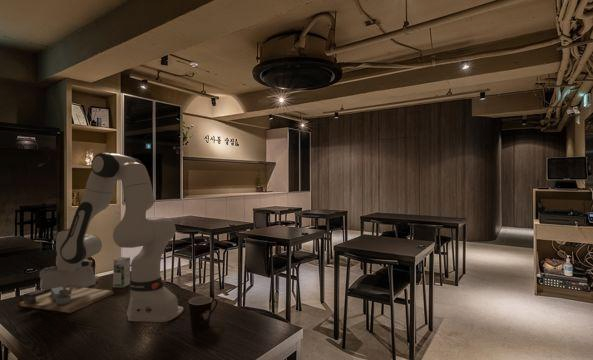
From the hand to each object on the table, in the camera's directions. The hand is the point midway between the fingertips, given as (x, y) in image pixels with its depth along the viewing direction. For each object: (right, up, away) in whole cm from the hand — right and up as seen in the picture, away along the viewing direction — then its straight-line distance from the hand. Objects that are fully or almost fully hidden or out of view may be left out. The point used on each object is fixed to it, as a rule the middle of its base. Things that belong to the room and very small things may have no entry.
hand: (68, 294), depth 151 cm
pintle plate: (0, -3, +1) cm, 3 cm away
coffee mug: (+68, -4, -24) cm, 72 cm away
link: (-2, -1, -2) cm, 3 cm away
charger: (-6, -3, +22) cm, 23 cm away
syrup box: (+13, -3, +21) cm, 25 cm away
